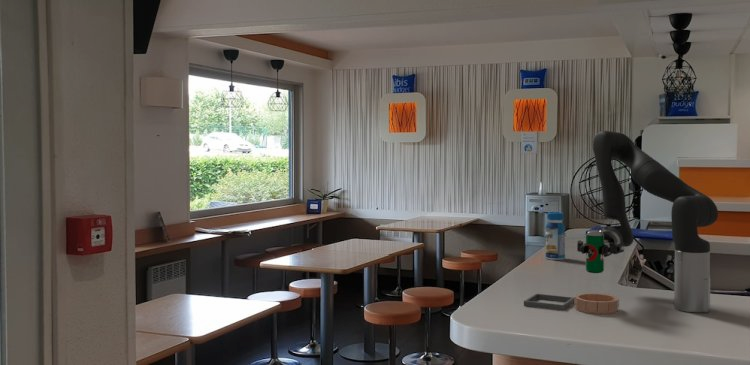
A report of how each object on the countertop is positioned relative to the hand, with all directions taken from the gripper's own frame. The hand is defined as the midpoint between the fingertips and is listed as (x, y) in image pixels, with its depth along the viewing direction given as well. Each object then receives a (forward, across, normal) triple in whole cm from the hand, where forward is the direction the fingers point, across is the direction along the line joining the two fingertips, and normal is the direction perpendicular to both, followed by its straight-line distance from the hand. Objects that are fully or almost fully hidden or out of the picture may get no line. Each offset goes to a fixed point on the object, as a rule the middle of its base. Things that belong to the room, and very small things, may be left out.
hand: (592, 250), depth 193 cm
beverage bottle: (-88, -36, +19) cm, 97 cm away
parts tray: (-3, -14, +18) cm, 22 cm away
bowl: (-2, 0, +18) cm, 18 cm away
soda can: (-3, 0, +7) cm, 7 cm away
